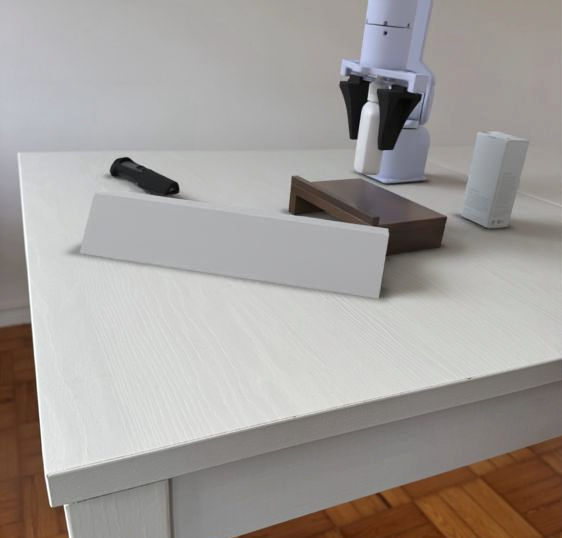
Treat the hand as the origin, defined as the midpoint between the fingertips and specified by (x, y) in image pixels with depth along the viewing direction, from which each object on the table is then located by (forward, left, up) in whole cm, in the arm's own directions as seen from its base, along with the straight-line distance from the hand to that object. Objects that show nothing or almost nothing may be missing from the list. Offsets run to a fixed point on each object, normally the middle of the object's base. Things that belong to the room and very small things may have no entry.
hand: (370, 144), depth 78 cm
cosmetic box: (-18, +6, -10) cm, 22 cm away
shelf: (+2, +3, -10) cm, 11 cm away
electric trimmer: (+23, -22, -10) cm, 33 cm away
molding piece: (+21, +5, -11) cm, 24 cm away
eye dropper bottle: (0, 0, -4) cm, 4 cm away
